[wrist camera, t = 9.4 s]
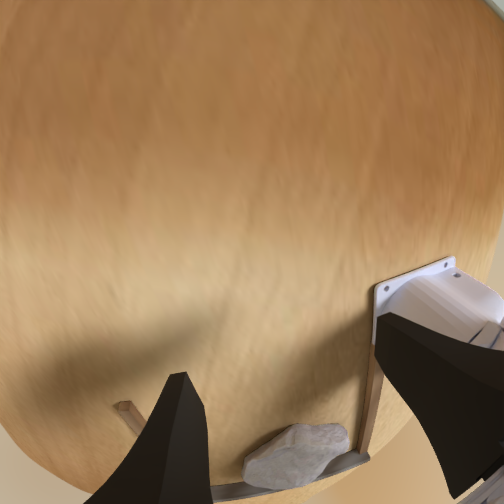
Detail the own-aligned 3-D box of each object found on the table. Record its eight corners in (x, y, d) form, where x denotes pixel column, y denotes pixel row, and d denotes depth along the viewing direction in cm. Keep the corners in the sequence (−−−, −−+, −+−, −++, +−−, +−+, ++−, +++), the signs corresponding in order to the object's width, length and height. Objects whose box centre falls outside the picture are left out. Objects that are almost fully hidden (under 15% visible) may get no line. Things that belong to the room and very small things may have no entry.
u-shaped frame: (381, 336, 23) (395, 352, 20) (363, 448, 31) (369, 460, 29) (119, 401, 21) (115, 422, 18) (201, 490, 29) (202, 503, 27)
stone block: (233, 457, 29) (300, 469, 30) (231, 485, 24) (304, 495, 25) (273, 403, 27) (349, 419, 27) (276, 436, 22) (359, 448, 23)
